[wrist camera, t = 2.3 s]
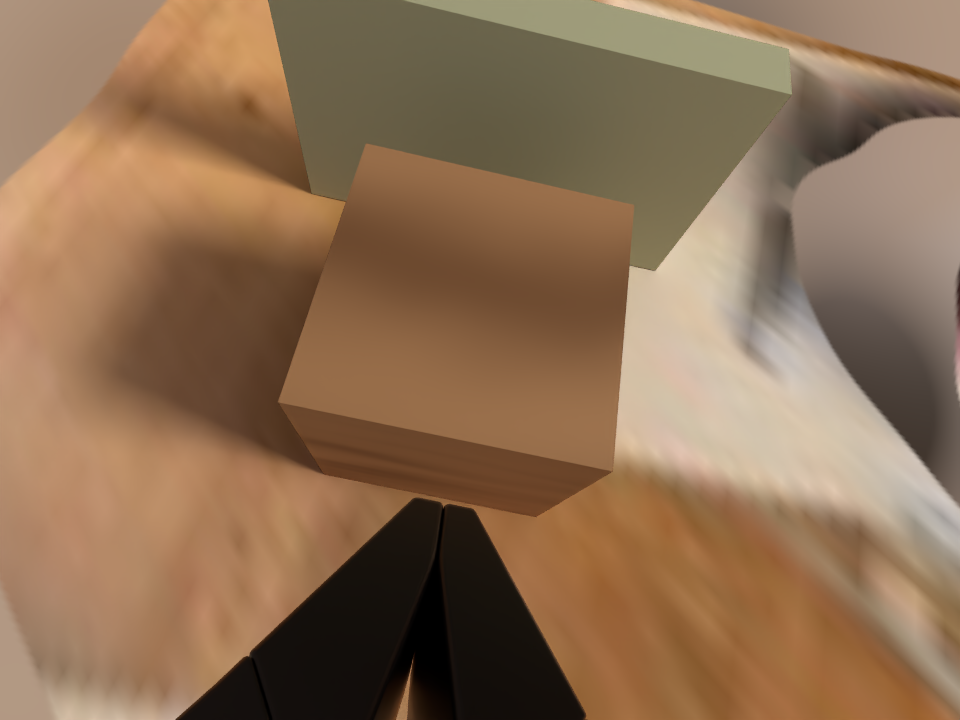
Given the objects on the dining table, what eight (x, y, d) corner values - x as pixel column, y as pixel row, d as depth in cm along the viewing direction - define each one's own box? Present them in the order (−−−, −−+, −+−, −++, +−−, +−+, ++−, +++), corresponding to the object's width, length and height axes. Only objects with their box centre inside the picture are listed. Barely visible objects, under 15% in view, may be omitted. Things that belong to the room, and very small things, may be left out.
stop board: (655, 270, 26) (791, 94, 17) (311, 193, 25) (260, -35, 16) (657, 235, 27) (789, 49, 18) (324, 159, 26) (282, -76, 17)
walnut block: (535, 517, 21) (613, 471, 13) (324, 474, 21) (277, 402, 13) (560, 329, 24) (634, 204, 17) (377, 289, 24) (365, 143, 16)
